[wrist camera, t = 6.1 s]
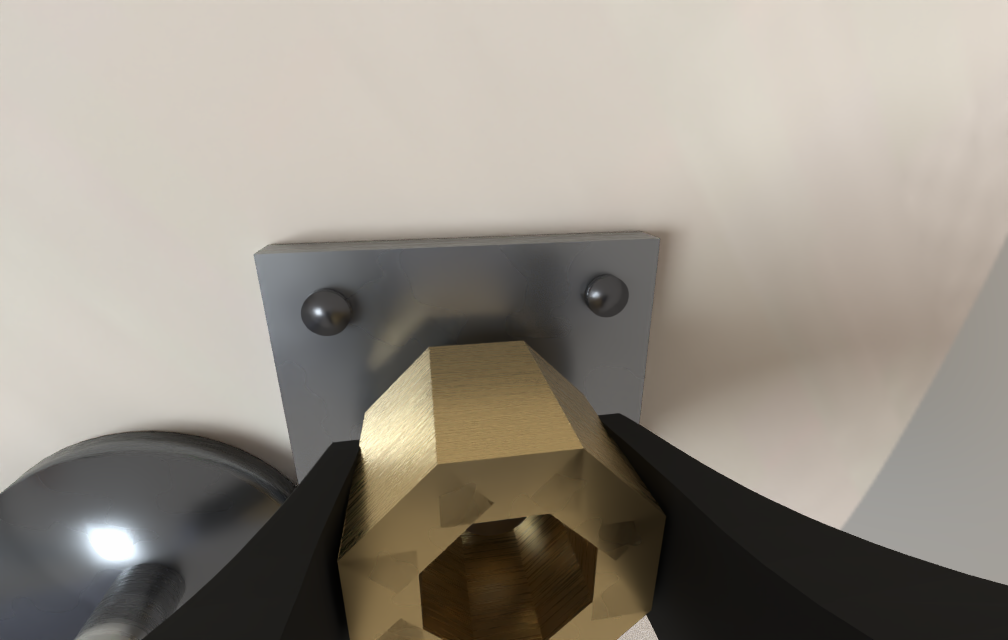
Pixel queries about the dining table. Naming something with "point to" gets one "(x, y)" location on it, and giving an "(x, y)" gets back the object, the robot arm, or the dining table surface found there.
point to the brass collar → (494, 508)
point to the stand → (125, 532)
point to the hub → (451, 320)
